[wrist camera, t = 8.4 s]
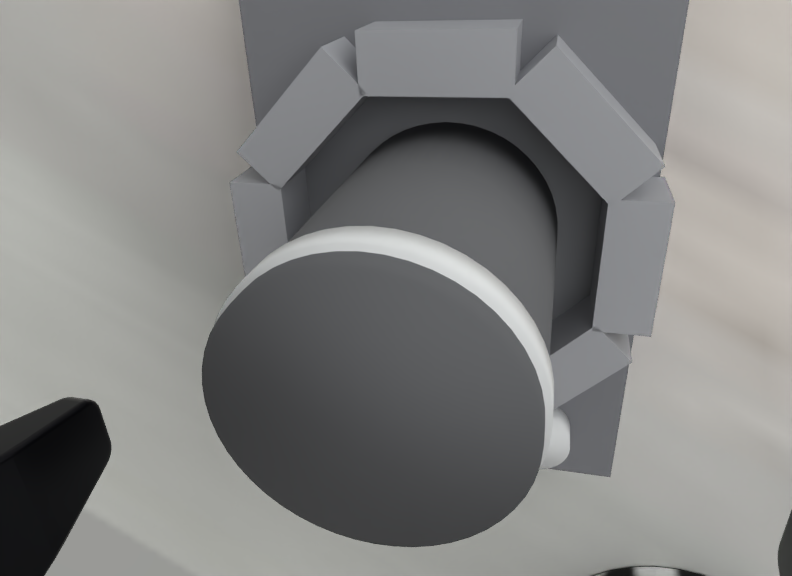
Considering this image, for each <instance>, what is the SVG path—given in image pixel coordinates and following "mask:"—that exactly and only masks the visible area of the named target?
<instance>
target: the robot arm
mask: <svg viewBox="0 0 792 576" xmlns="http://www.w3.org/2000/svg"><path fill="white" fill-rule="evenodd" d="M110 455H111V441H110V438H109V435H108V432H107V429H106V426H105V423H104V420H103V417H102V413H101V410H100V408H99V406H98V405H97V404H96V402H95V401H92V400H89V399H82V398H74V397H67V398H63V399H60V400H58V401H56V402H54V403H51V404H49V405H47V406H44V407H42V408H40V409H38V410H35V411H33V412H31V413H29V414H26V415H24V416H22V417H20V418H17V419H15V420H13V421H10V422H8V423H6V424H4V425H1V426H0V576H44V575H45V574H46V572H47V570H48V569H49V567H50V566H51V564H52V563H53V561H54V560H55V558H56V556H57V555H58V553H59V551H60V549H61V548H62V546H63V544H64V542H65V541H66V539H67V537H68V535H69V533H70V531H71V529H72V528H73V526H74V524H75V522H76V520H77V518H78V516H79V514H80V513H81V511H82V509H83V507H84V505H85V504H86V502H87V500H88V498H89V496H90V494H91V492H92V491H93V489H94V487H95V485H96V483H97V481H98V480H99V478H100V476H101V474H102V472H103V470H104V468H105V467H106V465H107V463H108V461H109V458H110ZM778 566H779V573H780V576H792V511H791V513H790V516H789V519H788V522H787V525H786V527H785V530H784V533H783V536H782V539H781V541H780V545H779V550H778Z"/></svg>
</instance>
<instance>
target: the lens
mask: <svg viewBox="0 0 792 576" xmlns="http://www.w3.org/2000/svg"><path fill="white" fill-rule="evenodd" d="M557 236H558V220H557V213H556V207H555V203H554V200H553V196H552V193H551V191H550V189H549V187H548V184H547V182H546V180H545V179H544V177H543V175H542V174H541V172H540V171H539V169H538V168H537V167H536V165H535V164H534V163H533V162H532V161H531V159H530V158H529V157H528V156H527V155H526V154H524V153H523V152H522V151H521V150H520V149H519V148H518V147H516V146H515V145H514V144H512V143H511V142H509V141H508V140H506V139H505V138H503V137H501V136H499V135H497V134H495V133H493V132H491V131H488V130H486V129H483V128H480V127H477V126H473V125H468V124H463V123H453V122H439V123H429V124H424V125H418V126H415V127H412V128H409V129H406V130H404V131H402V132H400V133H398V134H396V135H394V136H392V137H390V138H389V139H387V140H386V141H385V142H383V143H382V144H380V145H379V146H378V147H377V148H376V149H375V150H374V151H373V152H372V153H371V154H370V155H369V156H368V157H367V158H366V159H365V160H364V161H363V162H362V163H361V164H360V165H359V166H358V168H357V169H356V170H355V171H354V172H353V173H352V174H351V175H350V176H349V177H348V178H347V179H346V180H345V181H344V183H343V184H342V185H341V186H340V187H339V188H338V189H337V190H336V191H335V192H334V193H333V194H332V195H331V196H330V197H329V199H328V200H327V201H326V202H325V203H324V204H323V205H322V206H321V207H320V208H319V209H318V210H317V211H316V212H315V214H314V215H313V216H312V217H311V218H310V219H309V220H308V221H307V222H306V223H305V224H304V225H303V226H302V227H301V228H300V230H299V231H298V232H297V233H296V234H295V235H294V236H293V237H292V238H291V239H290V240H289V241H288V242H287V243H286V244H284V245H283V246H281V247H279V248H278V249H276V250H275V251H273V252H272V253H270V254H269V255H268V256H267V257H266V258H264V259H263V260H262V261H261V262H260V263H259V264H258V265H257V266H256V267H255V268H254V269H253V270H252V271H251V272H250V273H249V274H248V275H247V276H246V277H245V278H244V279H243V280H242V281H241V282H240V283H239V284H238V285H237V286H236V288H235V289H234V290H233V292H232V293H231V294H230V295H229V297H228V298H227V299H226V301H225V303H224V304H223V306H222V308H221V310H220V312H219V314H218V316H217V318H216V321H215V324H214V327H213V329H212V331H211V333H210V335H209V338H208V341H207V344H206V347H205V351H204V357H203V364H202V386H203V392H204V398H205V403H206V406H207V410H208V413H209V416H210V419H211V421H212V424H213V426H214V428H215V430H216V433H217V435H218V437H219V438H220V440H221V442H222V443H223V445H224V447H225V448H226V450H227V452H228V453H229V454H230V456H231V457H232V458H233V460H234V461H235V462H236V464H237V465H238V466H239V467H240V469H241V470H242V471H243V472H244V473H245V474H246V475H247V476H248V477H249V478H250V479H251V481H253V482H254V483H255V484H256V485H257V486H258V487H259V488H260V489H261V490H263V491H264V492H265V493H266V494H267V495H268V496H270V497H271V498H272V499H274V500H275V501H276V502H278V503H279V504H280V505H282V506H283V507H285V508H286V509H288V510H290V511H291V512H293V513H294V514H296V515H298V516H299V517H301V518H303V519H305V520H307V521H309V522H311V523H313V524H315V525H317V526H319V527H321V528H324V529H326V530H329V531H331V532H334V533H336V534H339V535H343V536H346V537H349V538H352V539H355V540H360V541H364V542H369V543H373V544H380V545H388V546H400V547H421V546H434V545H440V544H446V543H452V542H455V541H458V540H462V539H465V538H469V537H471V536H473V535H476V534H478V533H480V532H482V531H485V530H487V529H488V528H490V527H492V526H493V525H495V524H496V523H498V522H500V521H501V520H502V519H504V518H505V517H506V516H507V515H508V514H510V513H511V512H512V511H513V510H514V509H515V508H516V507H517V506H518V505H519V503H520V502H521V501H522V500H523V499H524V498H525V496H526V495H527V493H528V491H529V490H530V488H531V486H532V485H533V483H534V481H535V478H536V476H537V473H538V471H539V469H540V467H541V465H542V464H543V461H544V459H545V456H546V453H547V451H548V448H549V444H550V439H551V434H552V428H553V409H554V378H553V372H552V365H551V360H550V344H551V328H552V313H553V298H554V282H555V267H556V251H557Z"/></svg>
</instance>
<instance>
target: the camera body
mask: <svg viewBox="0 0 792 576" xmlns="http://www.w3.org/2000/svg"><path fill="white" fill-rule="evenodd" d="M688 4H689V0H239V5H240V13H241V20H242V27H243V34H244V41H245V48H246V55H247V62H248V69H249V76H250V83H251V91H252V98H253V105H254V112H255V119H256V126H257V127H256V128H255V130H254V131H253V132H252V133H251V135H250V136H249V137H248V138H247V140H246V141H245V142H244V143H243V145H242V146H241V147H240V148H239V150H238V151H237V153H238V154H239V155H240V156H241V157H242V158H243V159H244V160H245V161H246V162H247V163H249V164H250V165H251V166H252V167H250V168H249V169H248V170H246V171H245V172H243V173H242V174H241V175H239V176H238V177H236V178H235V179H234V180H232V181H231V182H230V188H231V194H232V200H233V206H234V212H235V218H236V224H237V230H238V236H239V242H240V248H241V254H242V260H243V266H244V272H245V277H246V276H247V275H248V274H249V273H250V272H251V271H252V270H253V269H254V268H255V267H256V266H257V265H258V264H259V263H260V262H261V261H262V260H263V259H264V258H266V257H267V256H268V255H269V254H270V253H272V252H273V251H275V250H276V249H278V248H279V247H281V246H283V245H284V244H286V243H287V242H288V241H289V240H290V239H291V238H292V237H293V236H294V235H295V234H296V233H297V232H298V231H299V230H300V228H301V227H302V226H303V225H304V224H305V223H306V222H307V221H308V220H309V219H310V218H311V217H312V216H313V215H314V214H315V212H316V211H317V210H318V209H319V208H320V207H321V206H322V205H323V204H324V203H325V202H326V201H327V200H328V199H329V197H330V196H331V195H332V194H333V193H334V192H335V191H336V190H337V189H338V188H339V187H340V186H341V185H342V184H343V183H344V181H345V180H346V179H347V178H348V177H349V176H350V175H351V174H352V173H353V172H354V171H355V170H356V169H357V168H358V166H359V165H360V164H361V163H362V162H363V161H364V160H365V159H366V158H367V157H368V156H369V155H370V154H371V153H372V152H373V151H374V150H375V149H376V148H377V147H378V146H379V145H380V144H382V143H383V142H385V141H386V140H387V139H389V138H390V137H392V136H394V135H396V134H398V133H400V132H402V131H404V130H406V129H409V128H412V127H415V126H418V125H424V124H429V123H439V122H453V123H463V124H468V125H473V126H477V127H480V128H483V129H486V130H488V131H491V132H493V133H495V134H497V135H499V136H501V137H503V138H505V139H506V140H508V141H509V142H511V143H512V144H514V145H515V146H516V147H518V148H519V149H520V150H521V151H522V152H523V153H524V154H526V155H527V156H528V157H529V158H530V159H531V161H532V162H533V163H534V164H535V165H536V167H537V168H538V169H539V171H540V172H541V174H542V175H543V177H544V179H545V180H546V182H547V184H548V187H549V189H550V191H551V193H552V196H553V200H554V203H555V207H556V213H557V220H558V236H557V251H556V267H555V282H554V298H553V313H552V328H551V344H550V360H551V365H552V372H553V378H554V409H553V428H552V434H551V439H550V444H549V448H548V451H547V453H546V456H545V459H544V461H543V464H542V465H541V467H540V469H547V468H548V469H555V470H562V471H570V472H577V473H584V474H591V475H599V476H606V477H610V475H611V469H612V463H613V457H614V451H615V445H616V439H617V433H618V427H619V421H620V415H621V409H622V403H623V397H624V391H625V385H626V379H627V373H628V366H629V364H630V363H632V358H631V348H632V342H633V336H634V335H638V336H649V337H651V334H652V328H653V323H654V317H655V312H656V306H657V301H658V295H659V290H660V284H661V278H662V273H663V267H664V262H665V256H666V251H667V245H668V240H669V234H670V229H671V223H672V218H673V212H674V207H675V201H674V198H673V196H672V193H671V191H670V188H669V186H668V183H667V181H666V178H665V177H660V173H661V169H663V168H664V167H665V165H664V163H663V155H664V149H665V143H666V137H667V131H668V125H669V119H670V113H671V107H672V101H673V95H674V89H675V83H676V77H677V71H678V65H679V59H680V52H681V46H682V40H683V34H684V28H685V22H686V16H687V10H688Z"/></svg>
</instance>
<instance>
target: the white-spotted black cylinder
mask: <svg viewBox="0 0 792 576" xmlns="http://www.w3.org/2000/svg"><path fill="white" fill-rule="evenodd" d="M595 576H703V575H700V574H696V573H692V572H688V571H683V570H679V569H671V568H661V567H630V568H624V569H617V570H611V571H608V572H605V573H601V574H598V575H595Z"/></svg>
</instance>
